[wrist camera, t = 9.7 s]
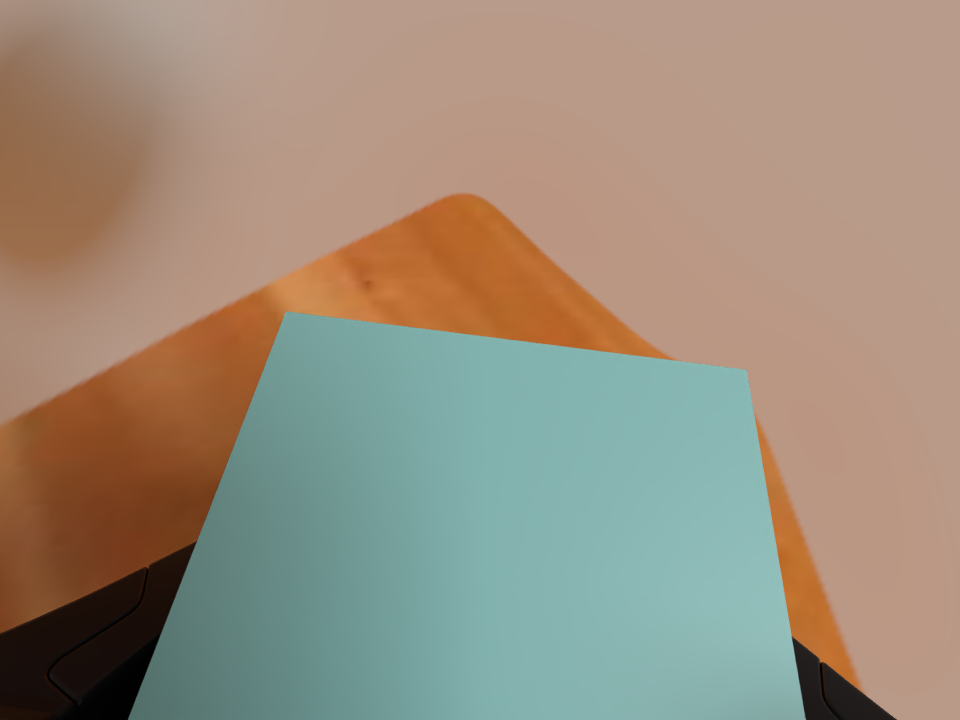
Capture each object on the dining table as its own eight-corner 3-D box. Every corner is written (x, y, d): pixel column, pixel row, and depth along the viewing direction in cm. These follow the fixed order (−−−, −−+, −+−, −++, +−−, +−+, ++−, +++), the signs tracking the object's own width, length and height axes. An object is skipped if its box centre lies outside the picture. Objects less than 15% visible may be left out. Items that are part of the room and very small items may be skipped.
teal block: (560, 735, 12) (880, 1166, 3) (348, 704, 12) (10, 1023, 3) (567, 512, 14) (746, 370, 5) (393, 489, 14) (286, 311, 5)
